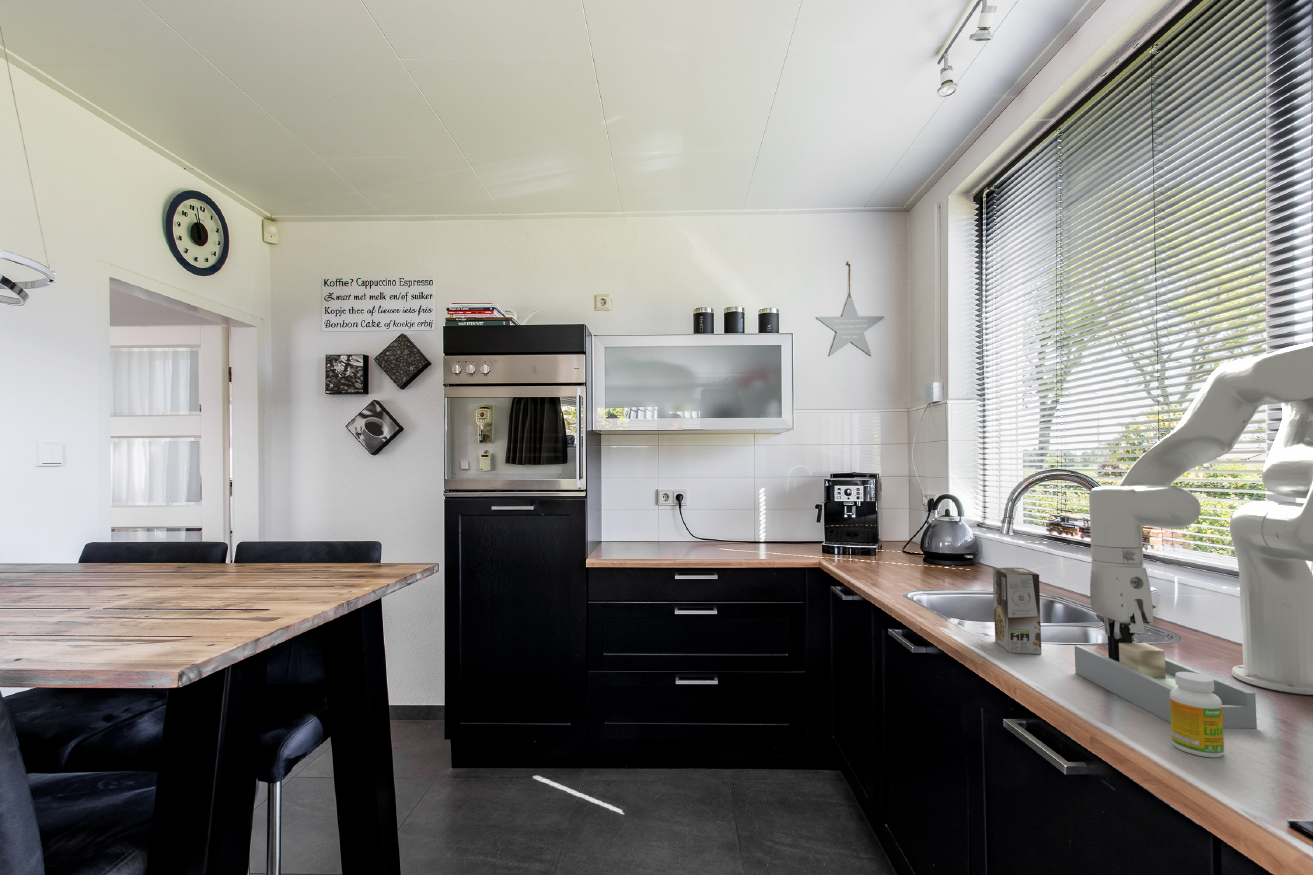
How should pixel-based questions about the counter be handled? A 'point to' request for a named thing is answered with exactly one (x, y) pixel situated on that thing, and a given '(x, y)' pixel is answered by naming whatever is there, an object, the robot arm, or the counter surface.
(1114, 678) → the box
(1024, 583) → the coffee box
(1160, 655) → the block
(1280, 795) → the counter surface
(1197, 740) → the supplement bottle
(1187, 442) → the robot arm
